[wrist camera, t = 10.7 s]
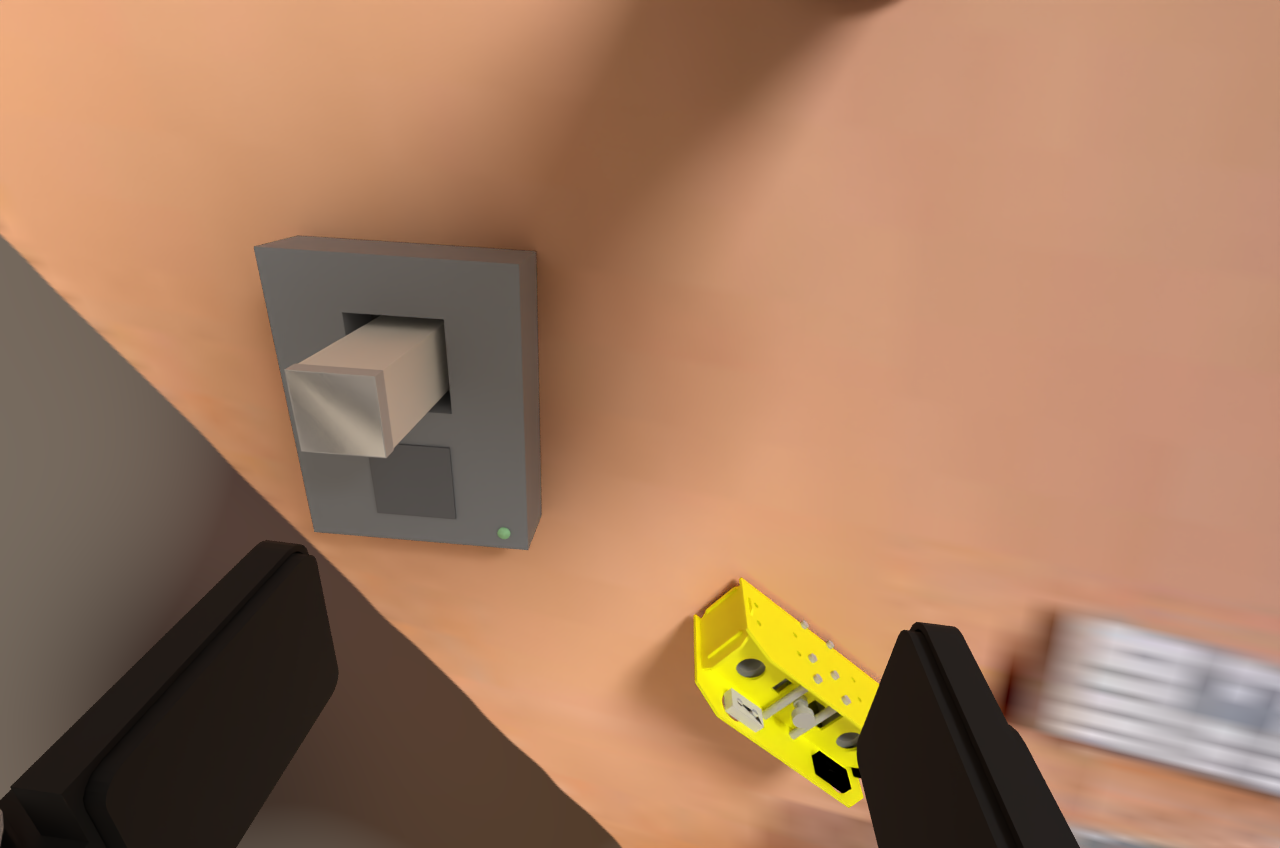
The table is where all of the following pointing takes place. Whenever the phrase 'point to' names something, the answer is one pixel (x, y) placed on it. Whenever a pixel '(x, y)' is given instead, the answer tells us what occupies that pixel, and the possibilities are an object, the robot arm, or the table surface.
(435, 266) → the plate
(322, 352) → the plug
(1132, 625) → the table surface
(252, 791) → the robot arm
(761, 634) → the yellow toy chassis
